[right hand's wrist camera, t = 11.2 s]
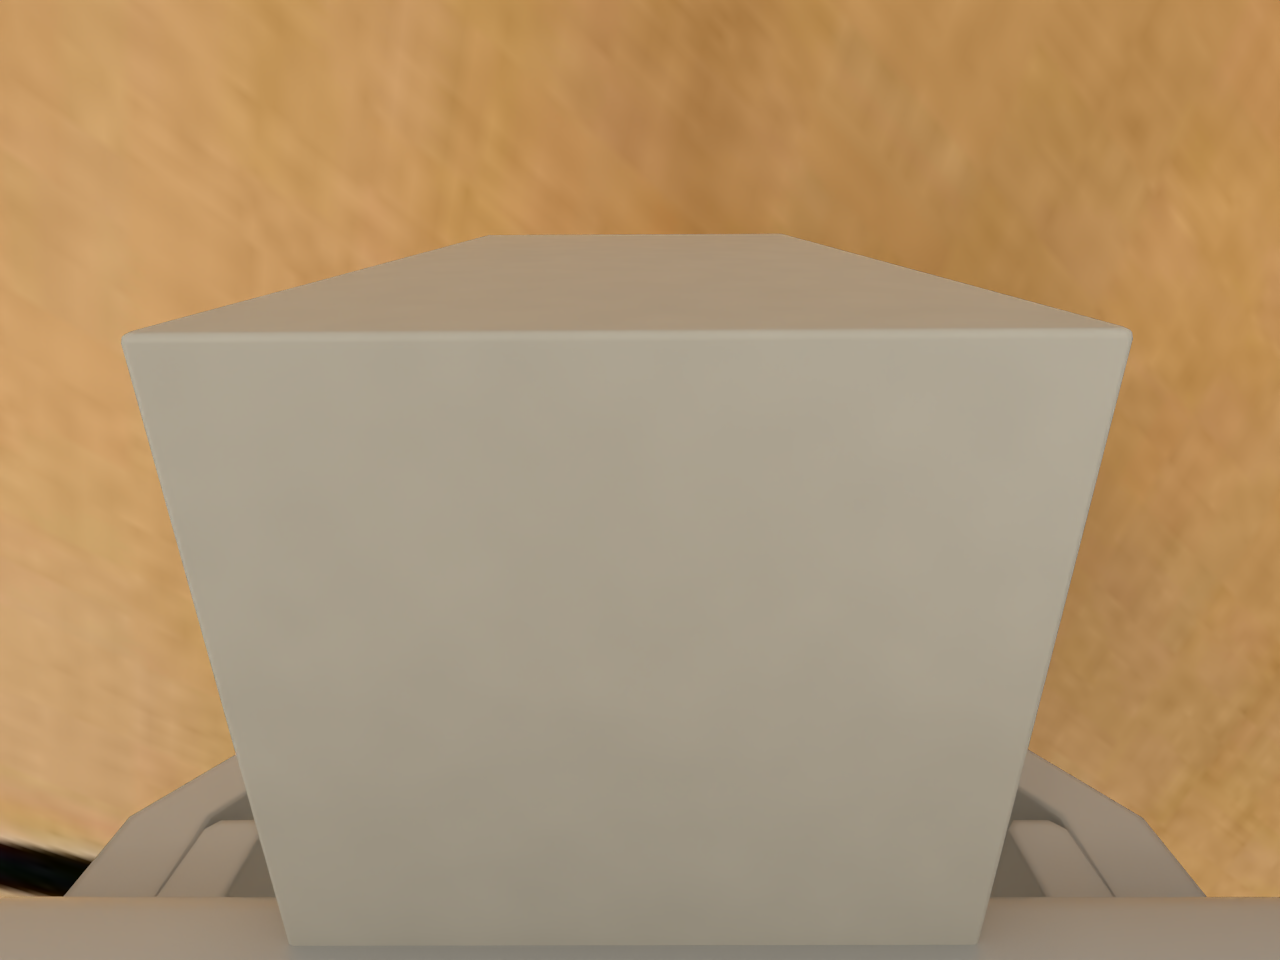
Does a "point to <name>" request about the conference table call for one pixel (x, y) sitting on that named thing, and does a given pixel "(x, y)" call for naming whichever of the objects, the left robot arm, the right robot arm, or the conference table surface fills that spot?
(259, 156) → the conference table surface
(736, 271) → the bar
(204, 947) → the right robot arm
